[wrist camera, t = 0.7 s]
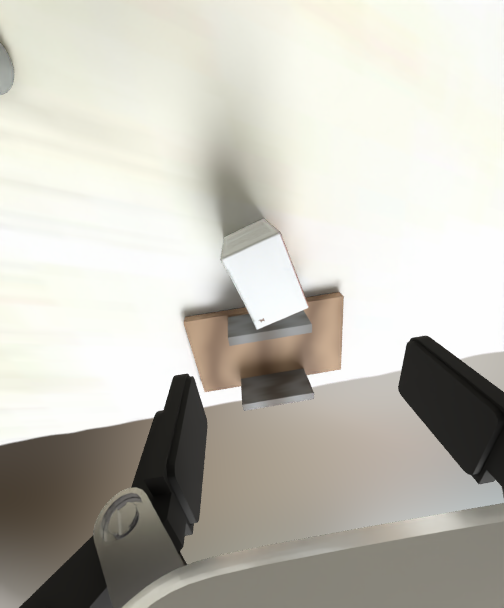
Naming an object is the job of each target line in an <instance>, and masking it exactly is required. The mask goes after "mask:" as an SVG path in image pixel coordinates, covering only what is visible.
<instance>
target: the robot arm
mask: <svg viewBox="0 0 504 608" xmlns="http://www.w3.org/2000/svg"><path fill="white" fill-rule="evenodd" d="M398 389H399V392H400V394H401V396H402V397H403V398H404V399H405V401H406V402H407V403H408V404H409V406H410V407H411V408H412V409H413V410H414V412H415V413H416V414H417V415H418V416H419V418H420V419H421V420H422V421H423V422H424V423H425V424H426V426H427V427H428V428H429V429H430V431H431V432H432V433H433V434H434V435H435V437H436V438H437V439H438V440H439V442H440V443H441V444H442V445H443V446H444V448H445V449H446V450H447V451H448V452H449V453H450V455H451V456H452V457H453V458H454V460H455V461H456V462H457V463H458V464H459V465H460V467H461V468H462V469H463V470H464V471H465V472H466V473H467V474H470V475H472V477H473V478H474V479H475V480H476V481H477V483H478V484H483V483H488V482H493V481H495V480H496V481H497V482H498V483H499V484H500V485H501V486H502V490H503V497H504V392H503V391H501V390H500V389H499V388H497V387H496V386H495V385H493V384H492V383H491V382H489V381H488V380H487V379H485V378H484V377H483V376H481V375H480V374H479V373H477V372H476V371H474V370H473V369H472V368H471V367H469V366H468V365H466V364H465V363H464V362H462V361H461V360H460V359H458V358H457V357H456V356H454V355H453V354H452V353H450V352H449V351H448V350H446V349H445V348H444V347H442V346H441V345H440V344H438V343H437V342H435V341H434V340H433V339H431V338H430V337H428V336H421V337H414V338H411V339H410V341H409V342H408V343H407V345H406V350H405V355H404V361H403V366H402V371H401V376H400V381H399V386H398ZM206 436H207V418H206V415H205V412H204V408H203V405H202V402H201V399H200V396H199V392H198V389H197V386H196V383H195V379H194V377H193V376H192V377H190V376H189V374H182V375H176V376H174V377H173V380H172V383H171V387H170V390H169V394H168V397H167V400H166V404H165V407H164V410H163V411H158V412H157V413H156V414H155V416H154V419H153V422H152V426H151V429H150V432H149V435H148V438H147V441H146V444H145V447H144V451H143V453H142V456H141V460H140V462H139V465H138V469H137V472H136V475H135V478H134V481H133V484H132V487H131V488H128V489H126V490H123V491H121V492H120V493H118V494H117V495H115V496H114V497H113V498H112V499H111V500H110V501H109V502H108V503H107V504H106V505H105V507H104V508H103V509H102V511H101V512H100V514H99V516H98V519H97V520H96V523H95V527H94V531H93V536H92V537H91V538H90V539H89V540H88V541H87V542H86V543H85V544H84V545H83V546H82V547H81V548H80V549H79V550H78V551H77V552H76V553H75V554H74V555H73V556H72V557H71V558H70V559H69V560H67V561H66V563H64V565H62V566H61V567H60V568H59V569H58V570H57V571H56V572H55V573H54V574H53V575H52V576H51V577H50V578H49V579H48V580H47V581H46V582H45V583H44V584H43V585H42V586H41V587H40V588H39V589H38V590H37V591H36V592H35V593H34V594H33V595H32V596H31V597H30V598H29V599H28V600H27V601H26V602H24V603H23V605H21V606H20V607H19V608H504V503H502V504H496V505H490V506H485V507H478V508H472V509H467V510H461V511H455V512H449V513H443V514H437V515H432V516H426V517H420V518H415V519H409V520H404V521H398V522H392V523H387V524H381V525H375V526H370V527H364V528H358V529H353V530H347V531H342V532H336V533H331V534H325V535H320V536H314V537H309V538H304V539H298V540H293V541H287V542H282V543H276V544H271V545H266V546H261V547H257V548H251V549H246V550H242V551H237V552H232V553H227V554H222V555H219V556H215V557H211V558H207V559H204V560H200V561H196V562H193V563H191V564H188V565H187V563H186V561H185V560H184V558H183V556H182V554H181V552H180V550H181V549H182V548H183V544H184V537H185V536H186V535H192V534H193V526H194V523H197V522H198V521H199V515H200V504H201V493H202V482H203V470H204V459H205V448H206Z"/></svg>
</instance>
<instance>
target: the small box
mask: <svg viewBox="0 0 504 608" xmlns="http://www.w3.org/2000/svg"><path fill="white" fill-rule="evenodd" d="M221 262H222V264H223V265H224V267H225V269H226V270H227V272H228V274H229V276H230V278H231V279H232V281H233V283H234V285H235V287H236V289H237V291H238V293H239V295H240V297H241V299H242V300H243V302H244V304H245V306H246V308H247V310H248V312H249V314H250V316H251V318H252V321H253V323H254V325H255V327H256V329H260V328H262V327H264V326H267V325H269V324H272V323H274V322H276V321H279V320H281V319H283V318H286V317H288V316H290V315H293V314H295V313H298V312H300V311H302V310H304V309H307V308H308V307H309V306H308V303H307V300H306V298H305V295H304V293H303V290H302V287H301V285H300V282H299V280H298V277H297V274H296V272H295V269H294V267H293V264H292V261H291V259H290V256H289V254H288V251H287V248H286V246H285V243H284V241H283V238H282V235H281V233H280V232H279V231H278V230H277V229H276V228H275V227H273V226H272V225H271V224H270V223H269V222H268V221H266V220H265V219H261V220H259V221H257V222H255V223H252V224H250V225H248V226H246V227H244V228H242V229H240V230H238V231H236V232H234V233H231V234H229V235H228V236H225V237H224V241H223V247H222V253H221Z"/></svg>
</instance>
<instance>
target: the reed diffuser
mask: <svg viewBox="0 0 504 608" xmlns="http://www.w3.org/2000/svg"><path fill="white" fill-rule="evenodd" d="M13 81H14V69H13V65H12V62H11V59H10V57H9V55H8V53H7V51H6V49H5V48H4V46H3V45H2V44H1V43H0V95H2V94H5V93H6V92H8V91H9V90H10V89H11V87H12V85H13Z"/></svg>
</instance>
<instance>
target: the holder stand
mask: <svg viewBox="0 0 504 608" xmlns="http://www.w3.org/2000/svg"><path fill="white" fill-rule="evenodd" d="M305 298H306V300H307V303H308V306H309V307H308V308H307V309H304V310H302V311H300V312H298V313H295V314H293V315H290V316H288V317H286V318H283V319H281V320H279V321H276V322H274V323H272V324H269V325H267V326H264V327H262V328H260V329H256V327H255V325H254V323H253V321H252V318H251V316H250V314H249V312H248V310H247V308H246V307H244V308H237V309H231V310H225V311H219V312H213V313H207V314H200V315H194V316H188V317H185V319H184V326H185V329H186V332H187V335H188V339H189V342H190V345H191V348H192V352H193V355H194V358H195V361H196V365H197V368H198V371H199V374H200V378H201V381H202V384H203V388H204V391H205V392H209V391H215V390H221V389H227V388H233V387H239V386H241V390H242V405H243V410H244V411H245V410H251V409H257V408H263V407H269V406H275V405H281V404H286V403H293V402H298V401H304V400H310V399H314V392H313V390H312V387H311V385H310V382H309V380H308V378H307V375H310V374H316V373H322V372H328V371H334V370H340V369H341V351H342V325H343V299H344V296H343V295H342V294H341V293H340V292H336V293H330V294H324V295H318V296H312V297H305Z"/></svg>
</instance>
